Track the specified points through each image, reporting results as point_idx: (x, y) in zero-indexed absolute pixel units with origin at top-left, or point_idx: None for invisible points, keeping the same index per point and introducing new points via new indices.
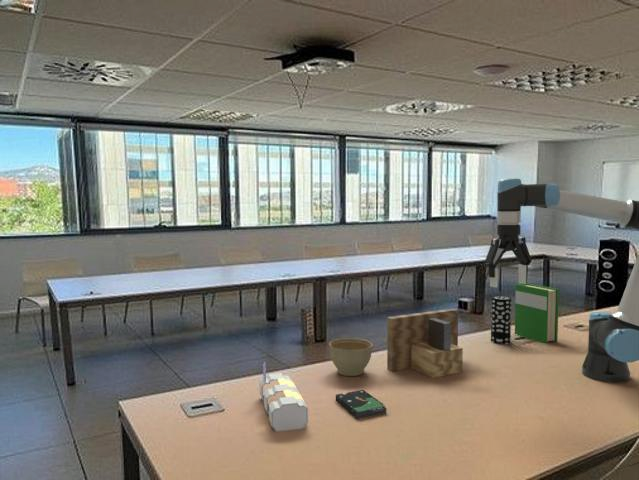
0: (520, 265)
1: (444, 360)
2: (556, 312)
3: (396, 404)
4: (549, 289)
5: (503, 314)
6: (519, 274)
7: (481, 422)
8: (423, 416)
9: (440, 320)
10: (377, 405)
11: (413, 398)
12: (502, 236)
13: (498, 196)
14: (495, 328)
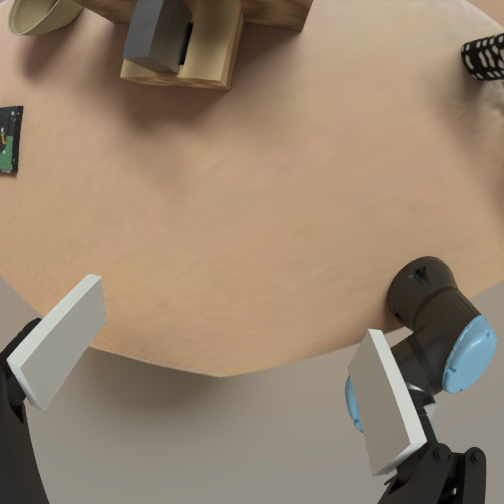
0: (395, 452)
1: (163, 80)
2: None
3: (35, 154)
4: None
5: None
6: (380, 382)
7: (86, 262)
8: (41, 205)
9: (152, 15)
10: (6, 164)
11: (60, 148)
12: None
13: None
14: (482, 49)
